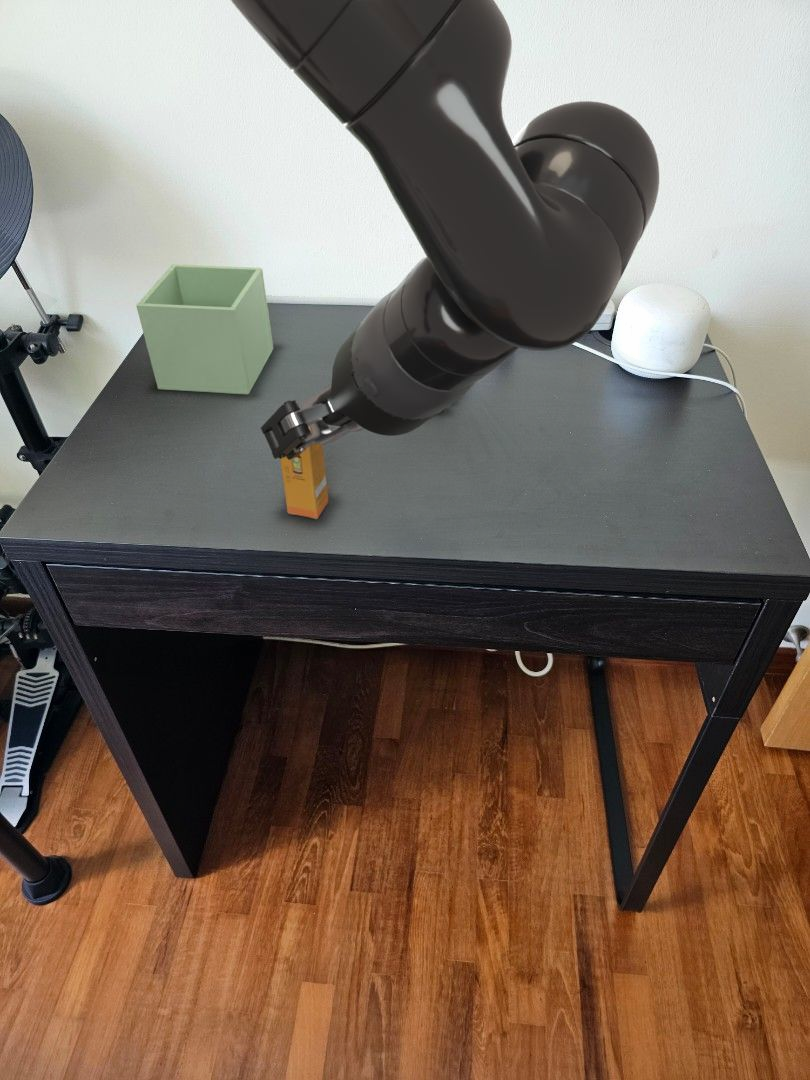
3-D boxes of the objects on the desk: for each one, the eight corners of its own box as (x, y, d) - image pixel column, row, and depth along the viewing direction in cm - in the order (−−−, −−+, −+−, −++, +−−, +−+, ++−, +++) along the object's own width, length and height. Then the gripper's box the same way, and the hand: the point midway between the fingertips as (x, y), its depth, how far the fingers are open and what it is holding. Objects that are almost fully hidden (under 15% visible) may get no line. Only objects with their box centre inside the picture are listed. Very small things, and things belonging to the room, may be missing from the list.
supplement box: (331, 499, 78) (322, 413, 71) (317, 521, 75) (306, 433, 69) (300, 493, 79) (289, 407, 72) (285, 514, 76) (272, 427, 69)
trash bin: (248, 394, 93) (234, 309, 86) (157, 389, 94) (135, 305, 87) (273, 348, 101) (262, 267, 94) (189, 344, 102) (172, 264, 95)
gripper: (475, 276, 52) (387, 361, 67) (283, 336, 46) (233, 415, 61) (521, 380, 52) (423, 442, 67) (335, 453, 47) (273, 503, 61)
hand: (332, 429), depth 64 cm, fingers open, 8 cm apart
